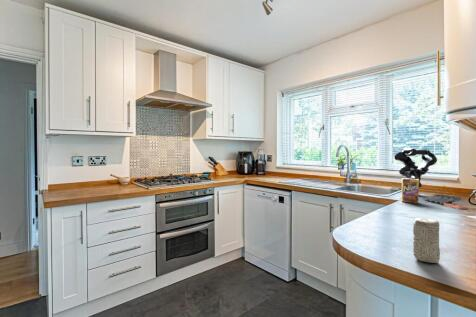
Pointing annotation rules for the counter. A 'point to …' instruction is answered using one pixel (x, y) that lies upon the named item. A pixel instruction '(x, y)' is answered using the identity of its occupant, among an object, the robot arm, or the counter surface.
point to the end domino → (455, 205)
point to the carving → (426, 240)
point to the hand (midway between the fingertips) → (419, 179)
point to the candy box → (410, 190)
